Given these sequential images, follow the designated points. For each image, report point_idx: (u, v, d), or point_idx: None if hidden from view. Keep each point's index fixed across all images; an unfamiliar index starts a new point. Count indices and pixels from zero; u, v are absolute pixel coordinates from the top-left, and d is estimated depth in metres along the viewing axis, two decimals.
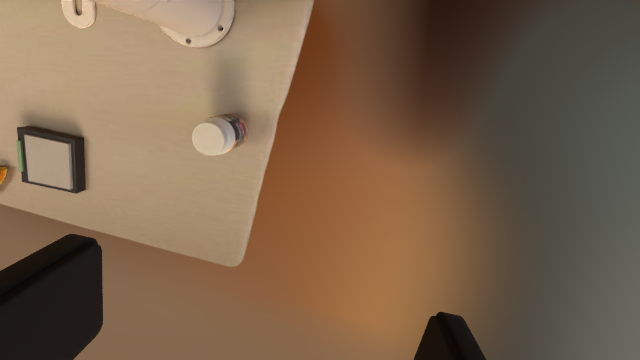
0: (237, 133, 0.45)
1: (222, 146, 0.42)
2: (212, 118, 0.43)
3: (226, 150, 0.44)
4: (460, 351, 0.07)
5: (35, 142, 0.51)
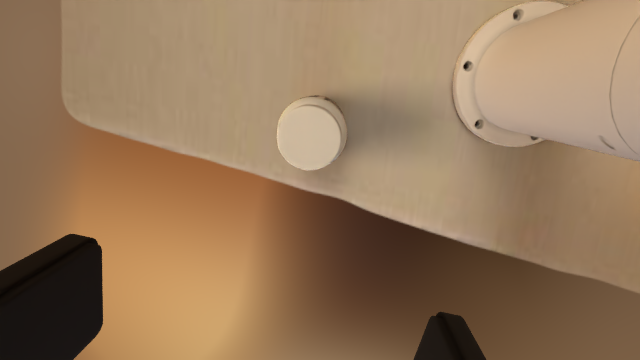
0: None
1: (295, 165, 0.22)
2: (345, 132, 0.23)
3: None
4: (460, 351, 0.07)
5: None
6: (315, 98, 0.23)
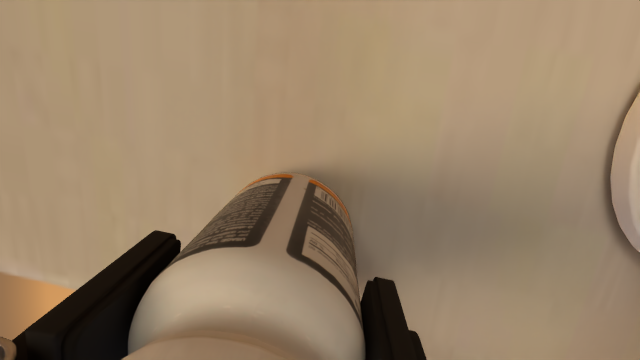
0: None
1: None
2: None
3: None
4: (383, 306, 0.08)
5: None
6: (252, 261, 0.06)
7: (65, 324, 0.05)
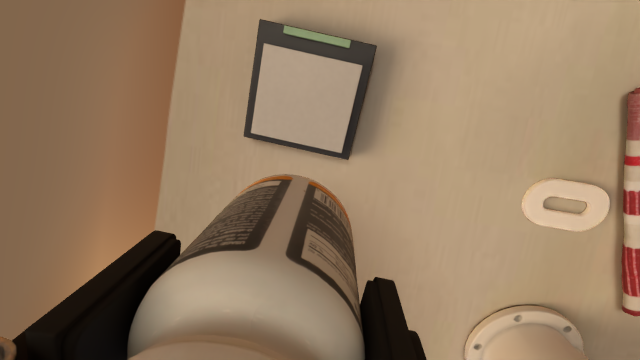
0: None
1: None
2: None
3: None
4: (383, 306, 0.08)
5: (346, 86, 0.25)
6: (251, 265, 0.06)
7: (65, 324, 0.05)
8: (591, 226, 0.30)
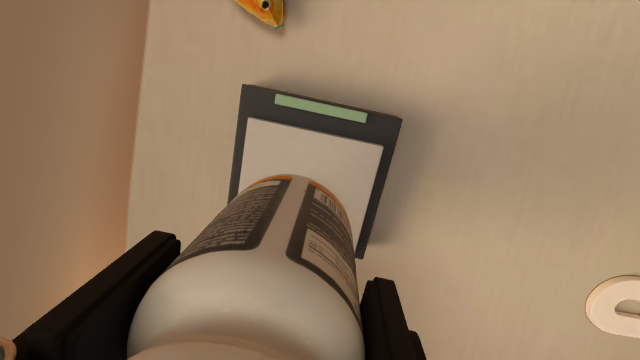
0: None
1: None
2: None
3: None
4: (383, 306, 0.08)
5: (360, 172, 0.19)
6: (251, 264, 0.06)
7: (65, 324, 0.05)
8: None
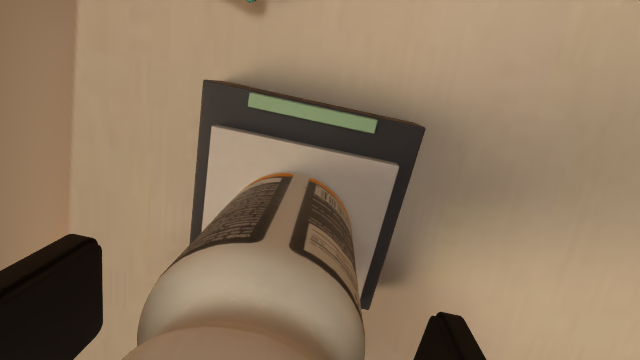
0: None
1: None
2: (359, 358, 0.07)
3: None
4: (460, 351, 0.07)
5: (367, 201, 0.14)
6: (256, 256, 0.06)
7: None
8: None
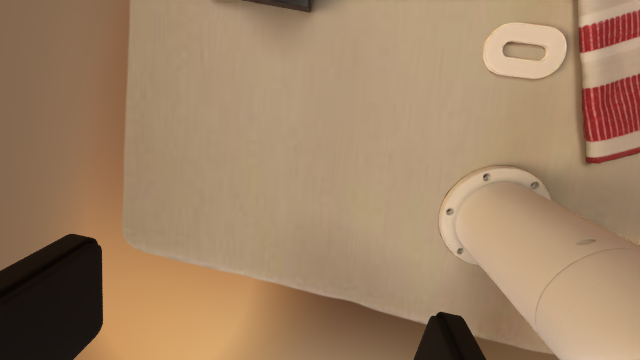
0: None
1: None
2: None
3: None
4: (460, 351, 0.07)
5: None
6: None
7: None
8: (550, 71, 0.30)
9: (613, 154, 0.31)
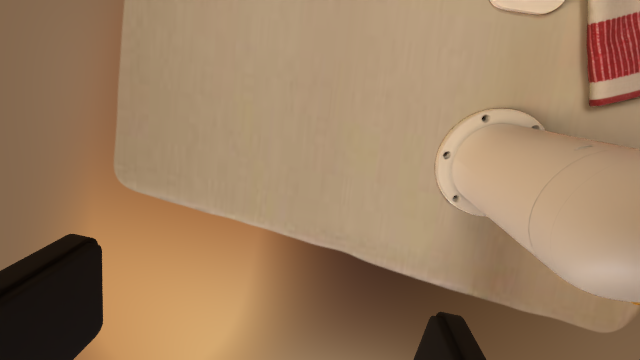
0: None
1: None
2: None
3: None
4: (460, 351, 0.07)
5: None
6: None
7: None
8: (555, 6, 0.29)
9: (617, 96, 0.30)
